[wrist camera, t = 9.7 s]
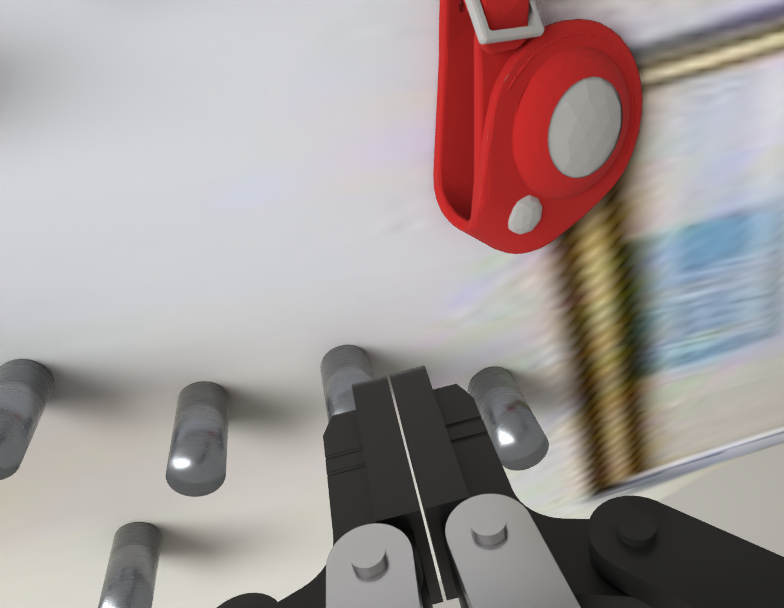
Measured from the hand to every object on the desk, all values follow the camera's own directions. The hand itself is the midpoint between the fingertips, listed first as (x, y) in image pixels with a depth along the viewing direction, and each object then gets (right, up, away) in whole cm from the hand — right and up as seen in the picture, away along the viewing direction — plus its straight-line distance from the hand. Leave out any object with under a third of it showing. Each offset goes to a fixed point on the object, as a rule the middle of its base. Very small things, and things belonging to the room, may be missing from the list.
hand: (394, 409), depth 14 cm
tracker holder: (+5, +11, +15) cm, 19 cm away
